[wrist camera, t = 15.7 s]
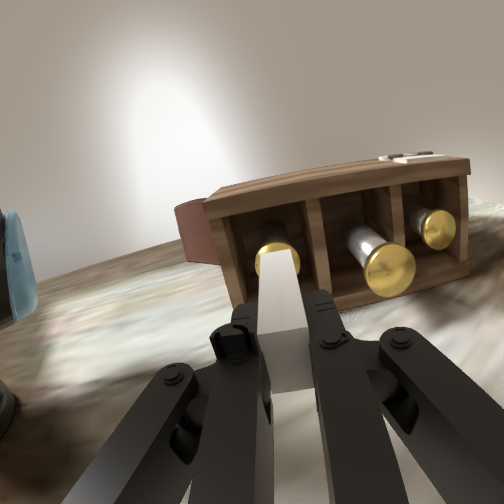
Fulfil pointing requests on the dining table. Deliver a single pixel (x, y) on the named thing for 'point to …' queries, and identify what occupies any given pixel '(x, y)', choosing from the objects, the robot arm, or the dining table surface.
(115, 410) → the dining table surface
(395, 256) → the button
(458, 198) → the box
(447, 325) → the dining table surface
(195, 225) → the letter holder
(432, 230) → the button
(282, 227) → the button
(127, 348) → the dining table surface
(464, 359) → the dining table surface
